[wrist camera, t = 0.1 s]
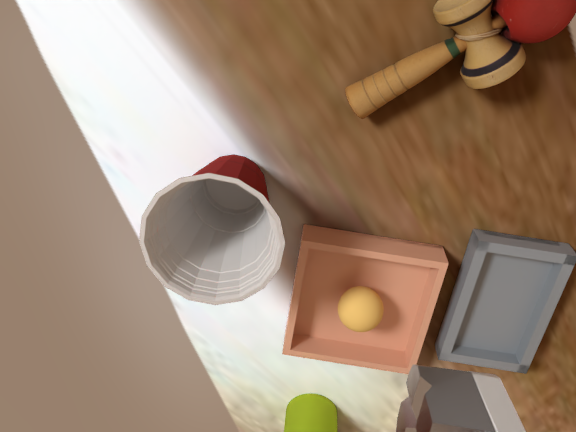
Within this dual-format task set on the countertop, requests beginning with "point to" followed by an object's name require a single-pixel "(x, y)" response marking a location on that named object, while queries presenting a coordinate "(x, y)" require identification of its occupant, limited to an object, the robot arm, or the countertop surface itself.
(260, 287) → the plastic cup
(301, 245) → the dish
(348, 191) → the countertop surface
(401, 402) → the robot arm
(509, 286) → the tray
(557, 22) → the kendama
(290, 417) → the soap dispenser
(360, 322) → the ball
